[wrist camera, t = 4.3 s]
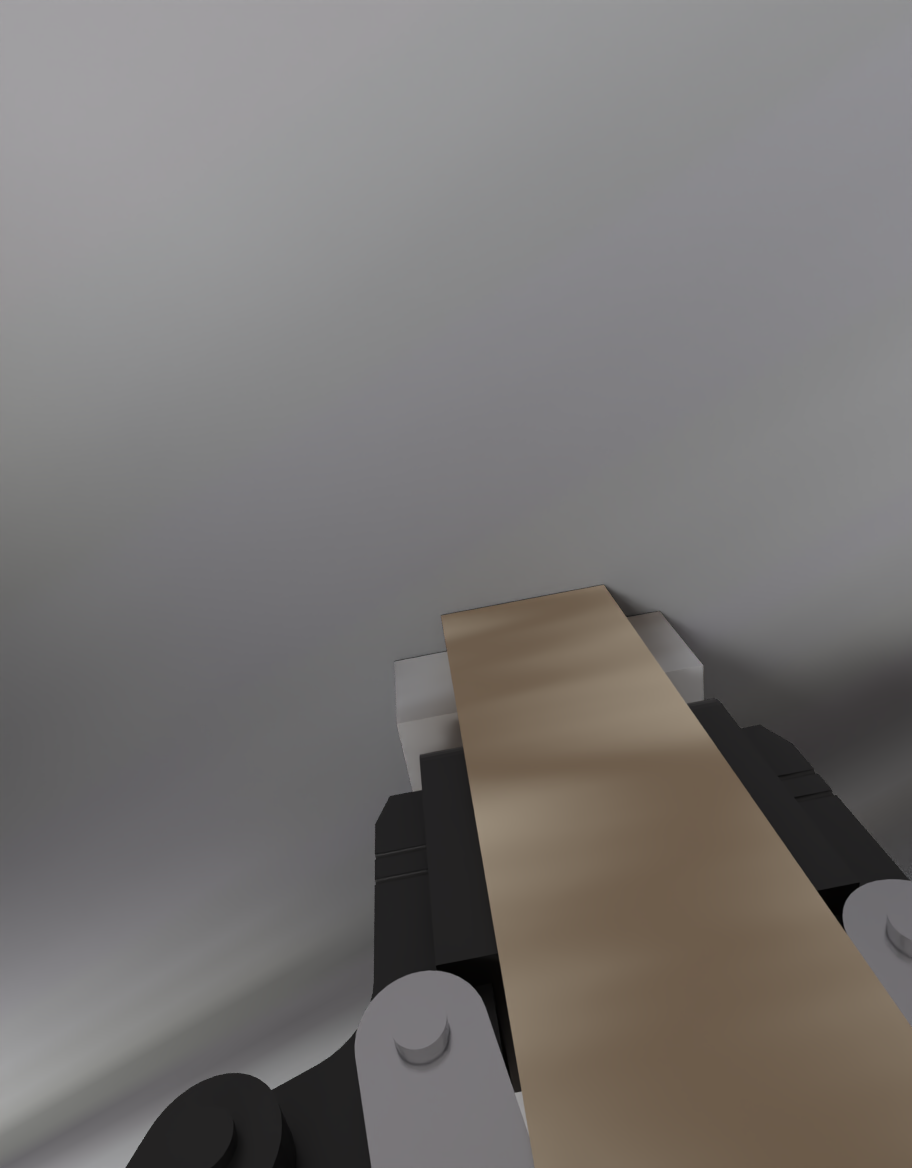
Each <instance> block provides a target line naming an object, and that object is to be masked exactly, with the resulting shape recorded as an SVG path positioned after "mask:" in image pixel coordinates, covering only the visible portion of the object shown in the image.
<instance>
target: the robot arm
mask: <svg viewBox="0 0 912 1168" xmlns="http://www.w3.org/2000/svg"><path fill="white" fill-rule="evenodd" d="M687 705H688V707H689V708H690V709H691V711H692V712H693V714H694V715H695V717H696V718H697V719H698V721H699V722H700V724H701V725H702V727H703V728H704V730H705V731H706V732H707V734H708V735H709V737H710V738H711V740H712V741H713V742H714V744H715V745H716V747H717V748H718V750H719V751H720V753H721V754H722V755H723V757H724V758H725V760H726V761H727V763H728V764H729V765H730V767H731V768H732V770H733V771H734V773H735V774H736V776H737V777H738V778H739V780H740V781H741V783H742V784H743V786H744V787H745V788H746V790H747V791H748V793H749V794H750V796H751V797H752V799H753V800H754V801H755V803H756V804H757V806H758V807H759V809H760V810H761V811H762V813H763V814H764V816H765V817H766V819H767V820H768V821H769V823H770V824H771V826H772V827H773V829H774V830H775V832H776V833H777V834H778V836H779V837H780V839H781V840H782V842H783V843H784V844H785V846H786V847H787V849H788V850H789V852H790V853H791V855H792V856H793V857H794V859H795V860H796V862H797V863H798V865H799V866H800V867H801V869H802V870H803V872H804V873H805V875H806V876H807V878H808V879H809V880H810V882H811V883H812V885H813V886H814V888H815V889H816V890H817V892H818V893H819V895H820V896H821V898H822V899H823V901H824V902H825V903H826V905H827V906H828V908H829V909H830V911H831V912H832V913H833V915H834V916H835V918H836V919H837V921H838V922H839V923H840V925H841V926H842V928H843V929H844V931H845V932H846V934H847V935H848V936H849V938H850V939H851V941H852V942H853V944H854V945H855V946H856V948H857V949H858V951H859V952H860V954H861V955H862V957H863V958H864V959H865V961H866V962H867V964H868V965H869V967H870V968H871V969H872V971H873V972H874V974H875V975H876V977H877V978H878V980H879V981H880V982H881V984H882V985H883V987H884V988H885V990H886V991H887V992H888V994H889V995H890V997H891V998H892V1000H893V1001H894V1003H895V1004H896V1005H897V1007H898V1008H899V1010H900V1011H901V1013H902V1014H903V1015H904V1017H905V1018H906V1020H907V1021H908V1023H909V1024H910V1025H911V1027H912V881H910V880H909V879H908V878H907V877H906V876H905V875H904V873H903V872H902V871H901V870H900V869H899V868H898V866H897V865H896V864H895V863H894V862H893V861H892V860H891V858H890V857H889V856H888V855H887V854H886V853H885V851H884V850H883V849H882V848H881V847H880V846H879V844H878V843H877V842H876V841H875V840H874V839H873V837H872V836H871V835H870V834H869V833H868V832H867V830H866V829H865V828H864V827H863V826H862V825H861V823H860V822H859V821H858V820H857V819H856V818H855V816H854V815H853V814H852V813H851V812H850V811H849V809H848V808H847V807H846V806H845V805H844V804H843V802H842V801H841V800H840V799H839V798H838V797H837V795H835V796H834V795H833V794H832V790H831V788H830V787H829V786H828V785H827V784H826V783H825V781H824V780H823V779H822V778H821V777H820V776H819V775H818V774H815V773H814V769H813V768H812V766H811V765H810V764H809V763H808V762H807V761H806V759H805V758H804V757H803V756H802V755H801V754H800V752H799V751H798V750H797V749H796V748H795V747H794V745H793V744H792V743H790V742H788V741H786V740H785V739H783V738H781V737H780V736H778V735H776V734H774V733H773V732H771V731H769V730H768V729H766V728H764V727H762V726H761V725H757V726H752V727H747V728H742V729H741V728H740V727H739V726H738V725H737V723H736V722H735V721H734V719H733V718H732V717H731V716H730V714H729V713H728V712H727V710H726V709H725V708H724V707H723V705H722V704H721V703H720V702H719V701H718V700H717V699H715V698H713V699H707V700H702V701H697V702H692V703H687ZM420 772H421V784H422V790H419V791H414V792H409V793H404V794H399V795H394V796H390V797H389V799H388V801H387V803H386V805H385V807H384V809H383V811H382V813H381V814H380V816H379V818H378V820H377V822H376V824H375V855H376V860H375V882H376V885H375V921H374V986H373V994H372V998H371V1002H370V1004H369V1005H368V1007H367V1008H366V1010H365V1012H364V1014H363V1016H362V1018H361V1020H360V1022H359V1025H358V1029H357V1030H356V1031H355V1033H354V1034H353V1035H352V1037H351V1038H350V1039H349V1040H348V1041H347V1042H346V1043H345V1044H344V1045H343V1046H342V1047H341V1048H340V1049H339V1050H338V1051H336V1052H335V1053H334V1054H333V1055H332V1056H330V1057H329V1058H327V1059H326V1060H324V1061H323V1062H321V1063H320V1064H318V1065H316V1066H314V1067H313V1068H311V1069H309V1070H307V1071H305V1072H304V1073H302V1074H300V1075H298V1076H296V1077H295V1078H293V1079H291V1080H289V1081H287V1082H286V1083H284V1084H282V1085H280V1086H278V1087H277V1088H275V1089H273V1090H271V1089H270V1088H269V1087H268V1086H267V1085H266V1084H265V1083H264V1082H262V1081H261V1080H260V1079H258V1078H256V1077H253V1076H251V1075H247V1074H241V1073H228V1074H223V1075H218V1076H214V1077H212V1078H209V1079H206V1080H204V1081H202V1082H200V1083H198V1084H196V1085H194V1086H193V1087H191V1088H189V1089H188V1090H187V1091H185V1092H184V1093H183V1094H181V1095H180V1096H179V1097H177V1098H176V1099H175V1100H174V1101H173V1102H172V1103H171V1104H170V1105H169V1106H168V1107H167V1108H166V1109H165V1110H164V1111H163V1112H162V1113H161V1115H160V1116H159V1117H158V1118H157V1119H156V1121H155V1122H154V1124H153V1125H152V1127H151V1128H150V1129H149V1131H148V1132H147V1134H146V1136H145V1137H144V1139H143V1140H142V1142H141V1144H140V1145H139V1147H138V1149H137V1150H136V1152H135V1153H134V1155H133V1157H132V1158H131V1160H130V1161H129V1163H128V1165H127V1166H126V1168H535V1167H534V1161H533V1155H532V1149H531V1143H530V1137H529V1134H528V1131H527V1128H526V1125H525V1122H524V1119H523V1116H522V1113H521V1110H520V1107H519V1105H518V1102H517V1099H516V1096H515V1093H517V1092H521V1091H522V1090H521V1084H520V1079H519V1073H518V1067H517V1061H516V1055H515V1049H514V1043H513V1037H512V1031H511V1025H510V1020H509V1014H508V1008H507V1002H506V996H505V990H504V984H503V978H502V972H501V967H500V961H499V955H498V949H497V943H496V937H495V931H494V925H493V919H492V914H491V908H490V902H489V896H488V890H487V884H486V878H485V872H484V866H483V860H482V855H481V849H480V843H479V837H478V831H477V825H476V819H475V813H474V807H473V802H472V796H471V790H470V784H469V778H468V772H467V766H466V760H465V754H464V749H463V746H461V747H456V748H451V749H446V750H441V751H435V752H430V753H425V754H420Z"/></svg>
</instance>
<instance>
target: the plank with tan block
mask: <svg viewBox="0 0 912 1168" xmlns="http://www.w3.org/2000/svg"><path fill="white" fill-rule="evenodd" d="M441 619H442V625H443V631H444V637H445V642H446V648H447V652H442V653H436V654H431V655H426V656H421V657H415V658H410V659H405V660H399V661H394V662H395V693H396V724H397V728H398V732H399V736H400V741H401V745H402V749H403V753H404V758H405V762H406V766H407V770H408V774H409V779H410V783H411V787H412V791H413V792H414V791H419V790H422V784H421V772H420V754H425V753H430V752H435V751H441V750H446V749H451V748H456V747H461V746H463V749H464V754H465V760H466V766H467V772H468V778H469V784H470V790H471V796H472V802H473V807H474V813H475V819H476V825H477V831H478V837H479V843H480V849H481V855H482V860H483V866H484V872H485V878H486V884H487V890H488V896H489V902H490V908H491V914H492V919H493V925H494V931H495V937H496V943H497V949H498V955H499V961H500V967H501V972H502V978H503V984H504V990H505V996H506V1002H507V1008H508V1014H509V1020H510V1025H511V1031H512V1037H513V1043H514V1049H515V1055H516V1061H517V1067H518V1073H519V1079H520V1084H521V1090H522V1091H521V1092H517V1093H515V1096H516V1099H517V1102H518V1105H519V1107H520V1110H521V1113H522V1116H523V1119H524V1122H525V1125H526V1128H527V1131H528V1134H529V1137H530V1143H531V1149H532V1155H533V1161H534V1167H535V1168H912V1027H911V1025H910V1024H909V1023H908V1021H907V1020H906V1018H905V1017H904V1015H903V1014H902V1013H901V1011H900V1010H899V1008H898V1007H897V1005H896V1004H895V1003H894V1001H893V1000H892V998H891V997H890V995H889V994H888V992H887V991H886V990H885V988H884V987H883V985H882V984H881V982H880V981H879V980H878V978H877V977H876V975H875V974H874V972H873V971H872V969H871V968H870V967H869V965H868V964H867V962H866V961H865V959H864V958H863V957H862V955H861V954H860V952H859V951H858V949H857V948H856V946H855V945H854V944H853V942H852V941H851V939H850V938H849V936H848V935H847V934H846V932H845V931H844V929H843V928H842V926H841V925H840V923H839V922H838V921H837V919H836V918H835V916H834V915H833V913H832V912H831V911H830V909H829V908H828V906H827V905H826V903H825V902H824V901H823V899H822V898H821V896H820V895H819V893H818V892H817V890H816V889H815V888H814V886H813V885H812V883H811V882H810V880H809V879H808V878H807V876H806V875H805V873H804V872H803V870H802V869H801V867H800V866H799V865H798V863H797V862H796V860H795V859H794V857H793V856H792V855H791V853H790V852H789V850H788V849H787V847H786V846H785V844H784V843H783V842H782V840H781V839H780V837H779V836H778V834H777V833H776V832H775V830H774V829H773V827H772V826H771V824H770V823H769V821H768V820H767V819H766V817H765V816H764V814H763V813H762V811H761V810H760V809H759V807H758V806H757V804H756V803H755V801H754V800H753V799H752V797H751V796H750V794H749V793H748V791H747V790H746V788H745V787H744V786H743V784H742V783H741V781H740V780H739V778H738V777H737V776H736V774H735V773H734V771H733V770H732V768H731V767H730V765H729V764H728V763H727V761H726V760H725V758H724V757H723V755H722V754H721V753H720V751H719V750H718V748H717V747H716V745H715V744H714V742H713V741H712V740H711V738H710V737H709V735H708V734H707V732H706V731H705V730H704V728H703V727H702V725H701V724H700V722H699V721H698V719H697V718H696V717H695V715H694V714H693V712H692V711H691V709H690V708H689V707H688V705H687V703H692V702H697V701H702V700H704V683H703V664H702V663H701V662H700V661H699V659H698V658H697V657H696V656H695V655H694V653H693V652H692V651H691V650H690V648H689V647H688V646H687V645H686V643H685V642H684V641H683V640H682V638H681V637H680V636H679V635H678V633H677V632H676V631H675V630H674V628H673V627H672V626H671V625H670V623H669V622H668V621H667V620H666V618H665V617H664V616H663V615H662V613H661V612H660V611H658V612H652V613H647V614H642V615H637V616H631V617H626V616H625V615H624V613H623V612H622V610H621V609H620V607H619V606H618V605H617V603H616V602H615V600H614V599H613V597H612V596H611V595H610V593H609V592H608V590H607V589H606V587H605V586H604V585H600V586H595V587H590V588H584V589H579V590H574V591H568V592H563V593H558V594H552V595H547V596H542V597H537V598H531V599H526V600H521V601H515V602H510V603H505V604H499V605H494V606H489V607H484V608H478V609H473V610H468V611H462V612H457V613H452V614H447V615H441Z"/></svg>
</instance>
